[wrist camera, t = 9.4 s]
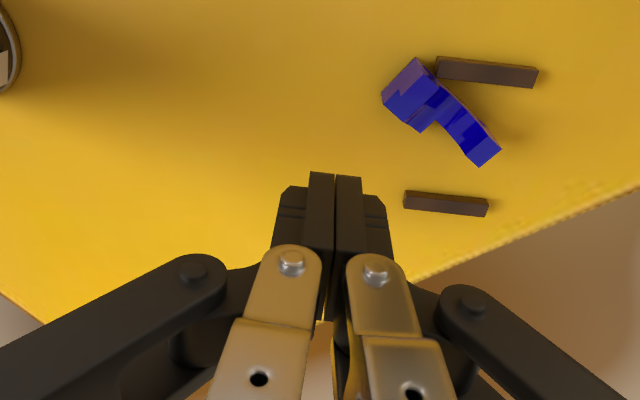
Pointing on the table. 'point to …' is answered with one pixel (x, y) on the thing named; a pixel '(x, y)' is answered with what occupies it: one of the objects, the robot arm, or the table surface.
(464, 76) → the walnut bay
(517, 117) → the table surface
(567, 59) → the table surface
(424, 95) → the cable holder
